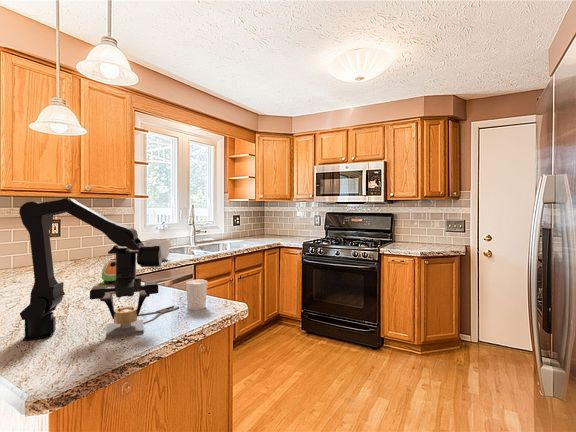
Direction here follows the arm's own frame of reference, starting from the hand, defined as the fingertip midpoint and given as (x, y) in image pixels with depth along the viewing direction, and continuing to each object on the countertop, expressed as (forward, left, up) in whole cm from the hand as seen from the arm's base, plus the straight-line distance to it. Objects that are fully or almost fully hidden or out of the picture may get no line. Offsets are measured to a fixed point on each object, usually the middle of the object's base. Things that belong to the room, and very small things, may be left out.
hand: (125, 317), depth 100 cm
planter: (+16, +139, -4) cm, 140 cm away
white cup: (+24, +15, -4) cm, 29 cm away
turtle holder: (-7, +76, -4) cm, 76 cm away
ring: (0, 0, -1) cm, 1 cm away
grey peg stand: (0, 0, -4) cm, 4 cm away
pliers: (+8, +13, -5) cm, 16 cm away
